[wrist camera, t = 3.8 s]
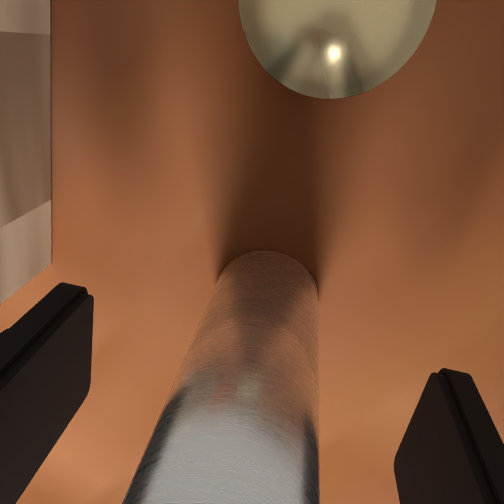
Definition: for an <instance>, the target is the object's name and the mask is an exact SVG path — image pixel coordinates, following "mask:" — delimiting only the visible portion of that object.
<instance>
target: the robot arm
mask: <svg viewBox="0 0 504 504" xmlns="http://www.w3.org/2000/svg"><path fill="white" fill-rule="evenodd" d="M93 307H94V298H93V296H92V295H89V294H88V292H87V289H86V288H85V287H81V286H77V285H72V284H68V283H59V284H58V285H57V286H56V287H55V288H53V289H52V290H51V291H50V292H49V293H48V294H47V295H46V296H45V297H44V298H42V299H41V300H40V301H39V302H38V303H37V304H36V305H35V306H34V307H33V308H31V309H30V310H29V311H28V312H27V313H26V314H25V315H24V316H23V317H21V318H20V319H19V320H18V321H17V322H16V323H15V324H14V325H13V326H12V327H10V328H9V329H6V330H4V331H3V332H1V333H0V504H16V502H17V501H18V499H19V498H20V496H21V495H22V493H23V492H24V490H25V489H26V487H27V486H28V484H29V483H30V481H31V480H32V478H33V477H34V475H35V474H36V472H37V471H38V469H39V468H40V466H41V465H42V463H43V462H44V460H45V459H46V457H47V456H48V454H49V453H50V451H51V450H52V448H53V447H54V445H55V444H56V442H57V441H58V439H59V438H60V436H61V434H62V433H63V431H64V430H65V428H66V427H67V425H68V424H69V422H70V421H71V419H72V418H73V416H74V415H75V413H76V412H77V410H78V409H79V407H80V406H81V404H82V403H83V401H84V400H85V398H86V396H87V394H88V391H89V388H90V382H91V358H92V332H93ZM394 473H395V478H396V484H397V489H398V495H399V500H400V504H504V444H503V442H502V440H501V438H500V436H499V434H498V431H497V429H496V427H495V425H494V423H493V421H492V419H491V417H490V415H489V413H488V410H487V408H486V406H485V404H484V402H483V400H482V398H481V396H480V394H479V392H478V389H477V387H476V385H475V383H474V381H473V379H472V377H471V376H470V374H468V373H464V372H459V371H455V370H450V369H446V368H443V369H441V370H440V371H439V372H438V373H435V372H434V373H432V374H431V375H430V377H429V379H428V381H427V383H426V386H425V388H424V390H423V393H422V395H421V397H420V400H419V402H418V404H417V407H416V409H415V411H414V414H413V416H412V418H411V421H410V423H409V425H408V428H407V430H406V432H405V435H404V437H403V439H402V442H401V444H400V446H399V449H398V451H397V453H396V456H395V461H394Z"/></svg>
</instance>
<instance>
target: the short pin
mask: <svg viewBox="0 0 504 504" xmlns="http://www.w3.org/2000/svg"><path fill="white" fill-rule="evenodd" d="M436 2H437V0H238V6H239V13H240V20H241V24H242V28H243V31H244V34H245V37H246V39H247V42H248V44H249V46H250V48H251V50H252V52H253V54H254V56H255V57H256V58H257V60H258V61H259V63H260V64H261V65H262V67H263V68H264V69H265V70H266V71H267V72H268V73H269V74H270V75H271V76H272V77H273V78H274V79H276V80H277V81H278V82H279V83H281V84H282V85H284V86H286V87H287V88H289V89H291V90H293V91H296V92H298V93H300V94H303V95H307V96H310V97H315V98H323V99H337V98H344V97H350V96H354V95H357V94H361V93H363V92H366V91H368V90H370V89H373V88H374V87H376V86H378V85H380V84H381V83H383V82H385V81H386V80H387V79H389V78H390V77H391V76H393V75H394V74H395V73H396V72H397V71H398V70H399V69H400V68H401V67H402V66H403V65H405V63H406V62H407V61H408V60H409V59H410V57H411V56H412V55H413V54H414V52H415V51H416V49H417V48H418V46H419V45H420V43H421V42H422V40H423V38H424V36H425V34H426V32H427V30H428V28H429V25H430V22H431V20H432V17H433V14H434V10H435V6H436Z"/></svg>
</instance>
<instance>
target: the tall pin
mask: <svg viewBox="0 0 504 504" xmlns="http://www.w3.org/2000/svg"><path fill="white" fill-rule="evenodd" d="M122 504H320V494H319V354H318V291H317V287H316V284H315V281H314V279H313V277H312V275H311V274H310V272H309V271H308V270H307V269H306V268H305V267H304V266H303V265H302V264H301V263H300V262H299V261H297V260H296V259H294V258H292V257H291V256H289V255H286V254H284V253H281V252H277V251H271V250H257V251H252V252H248V253H245V254H242V255H240V256H238V257H237V258H235V259H234V260H232V261H231V262H230V263H229V264H228V265H227V266H226V267H225V268H224V269H223V271H222V273H221V274H220V276H219V279H218V281H217V283H216V286H215V288H214V290H213V293H212V295H211V297H210V300H209V302H208V304H207V307H206V309H205V311H204V314H203V316H202V318H201V321H200V323H199V325H198V328H197V330H196V332H195V335H194V337H193V339H192V342H191V344H190V346H189V349H188V351H187V353H186V356H185V358H184V360H183V363H182V365H181V367H180V370H179V372H178V374H177V377H176V379H175V381H174V384H173V386H172V388H171V391H170V393H169V395H168V398H167V400H166V402H165V405H164V407H163V409H162V412H161V414H160V416H159V419H158V421H157V423H156V426H155V428H154V430H153V433H152V435H151V437H150V440H149V442H148V444H147V447H146V449H145V451H144V454H143V456H142V458H141V461H140V463H139V465H138V468H137V470H136V472H135V475H134V477H133V479H132V482H131V484H130V486H129V489H128V491H127V493H126V496H125V498H124V500H123V503H122Z"/></svg>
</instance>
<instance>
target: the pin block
mask: <svg viewBox="0 0 504 504" xmlns="http://www.w3.org/2000/svg"><path fill="white" fill-rule="evenodd" d="M50 264H52V258H51V42H50V0H0V305H1V304H2V303H3V302H4V301H6V300H7V299H8V298H9V297H11V296H12V295H13V294H14V293H16V292H17V291H18V290H19V289H21V288H22V287H23V286H24V285H26V284H27V283H28V282H29V281H30V280H32V279H33V278H34V277H35V276H37V275H38V274H39V273H40V272H42V271H43V270H44V269H45V268H47V267H48V266H49V265H50Z"/></svg>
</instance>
